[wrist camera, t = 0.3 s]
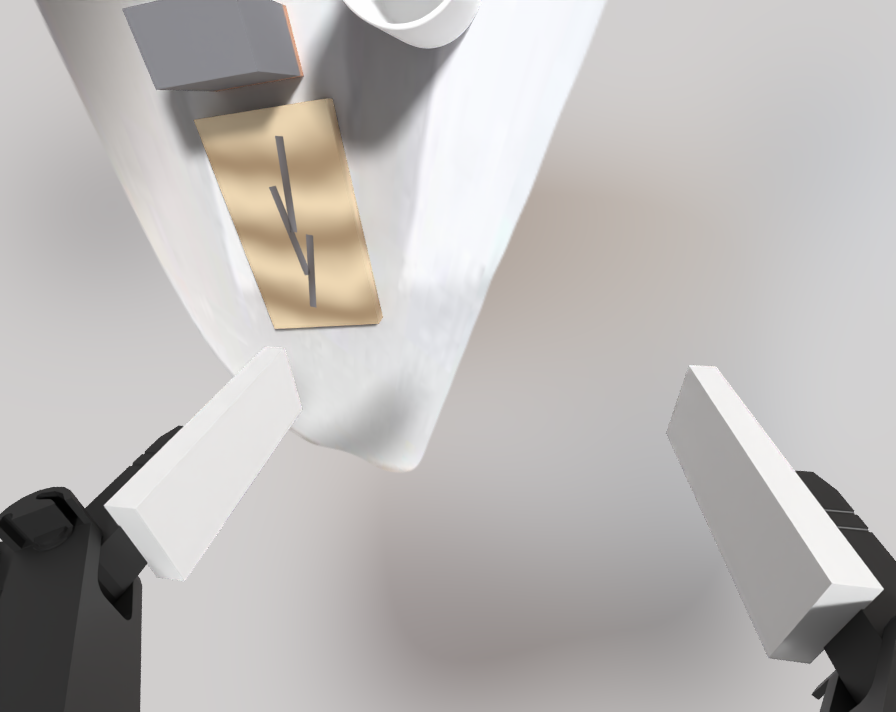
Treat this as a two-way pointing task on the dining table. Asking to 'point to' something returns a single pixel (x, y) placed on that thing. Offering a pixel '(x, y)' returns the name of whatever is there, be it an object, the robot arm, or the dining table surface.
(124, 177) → the dining table surface
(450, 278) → the dining table surface
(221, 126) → the board
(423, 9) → the cup
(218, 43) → the block
